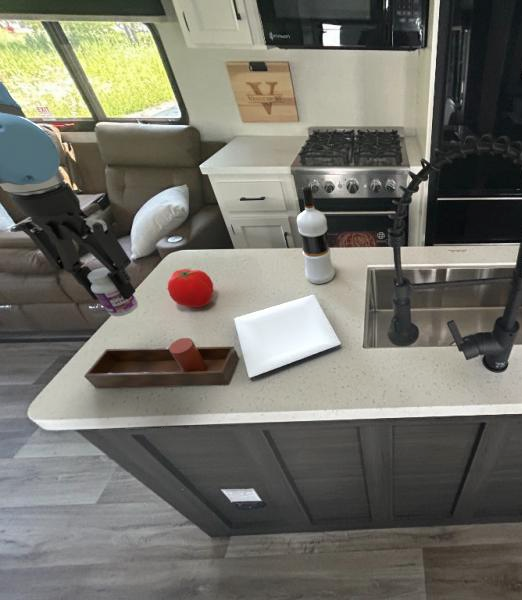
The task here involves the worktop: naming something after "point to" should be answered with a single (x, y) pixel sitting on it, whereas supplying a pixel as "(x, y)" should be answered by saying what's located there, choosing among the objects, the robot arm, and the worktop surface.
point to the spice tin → (187, 355)
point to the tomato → (190, 287)
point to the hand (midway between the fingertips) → (115, 295)
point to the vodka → (314, 241)
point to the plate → (284, 334)
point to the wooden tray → (160, 368)
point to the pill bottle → (110, 294)
